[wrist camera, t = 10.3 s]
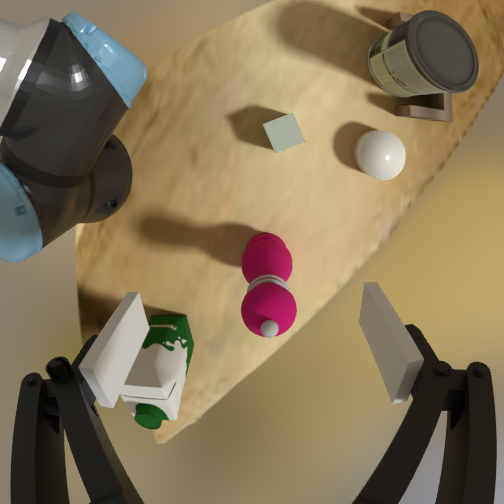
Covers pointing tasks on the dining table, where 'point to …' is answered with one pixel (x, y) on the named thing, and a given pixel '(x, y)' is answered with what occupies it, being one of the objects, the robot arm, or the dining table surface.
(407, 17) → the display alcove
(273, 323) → the pepper mill
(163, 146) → the dining table surface
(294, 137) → the sage block
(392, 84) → the coffee can
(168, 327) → the milk carton
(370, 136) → the white glossy round part
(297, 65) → the dining table surface
